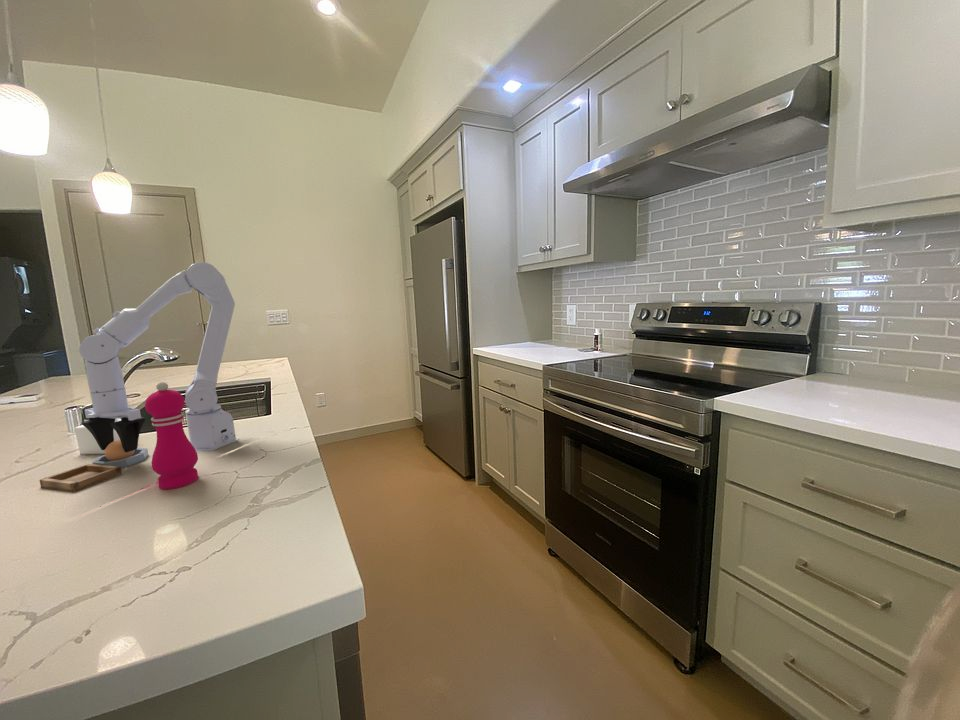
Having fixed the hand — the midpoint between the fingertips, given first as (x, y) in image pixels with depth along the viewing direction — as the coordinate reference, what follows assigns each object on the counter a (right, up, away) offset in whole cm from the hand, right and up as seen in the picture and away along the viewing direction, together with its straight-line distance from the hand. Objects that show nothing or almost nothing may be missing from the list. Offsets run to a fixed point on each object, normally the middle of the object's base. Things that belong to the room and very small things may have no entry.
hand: (119, 449), depth 92 cm
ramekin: (0, -3, +1) cm, 3 cm away
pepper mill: (+22, -4, -11) cm, 25 cm away
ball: (0, -3, 0) cm, 3 cm away
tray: (0, -5, -9) cm, 10 cm away
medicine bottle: (-12, -3, +11) cm, 16 cm away
